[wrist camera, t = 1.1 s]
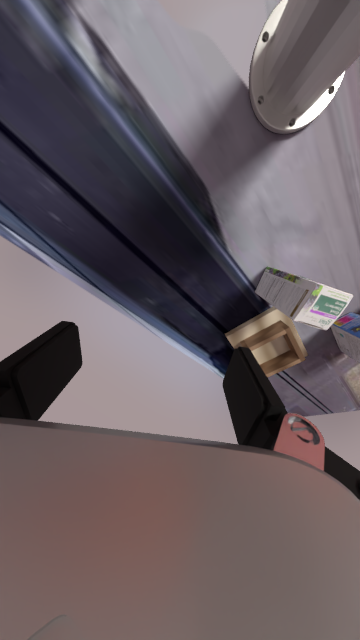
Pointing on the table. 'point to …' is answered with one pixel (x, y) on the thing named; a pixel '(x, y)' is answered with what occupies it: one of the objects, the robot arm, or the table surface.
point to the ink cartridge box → (348, 335)
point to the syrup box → (302, 298)
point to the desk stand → (270, 341)
